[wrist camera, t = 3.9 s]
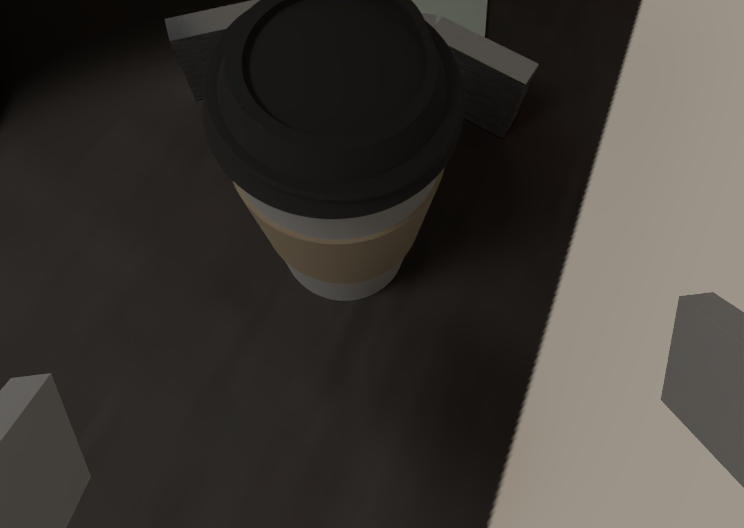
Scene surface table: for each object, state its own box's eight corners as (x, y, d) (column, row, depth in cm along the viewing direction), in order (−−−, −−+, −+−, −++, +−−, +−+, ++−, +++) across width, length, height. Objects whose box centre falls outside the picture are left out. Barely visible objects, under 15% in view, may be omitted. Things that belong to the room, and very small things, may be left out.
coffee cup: (349, 355, 28) (340, 241, 14) (229, 249, 30) (117, 57, 16) (456, 237, 31) (536, 41, 17) (338, 146, 33) (323, -97, 19)
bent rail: (185, 99, 34) (157, 39, 29) (201, 48, 35) (176, -16, 30) (513, 140, 33) (538, 85, 28) (515, 86, 35) (540, 27, 30)
